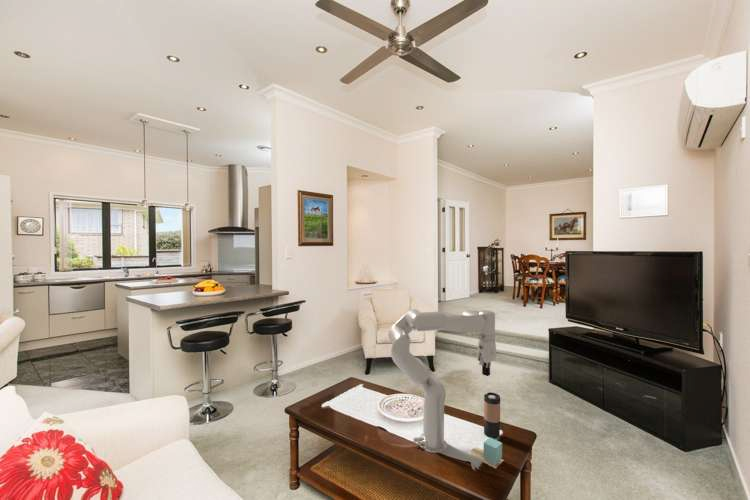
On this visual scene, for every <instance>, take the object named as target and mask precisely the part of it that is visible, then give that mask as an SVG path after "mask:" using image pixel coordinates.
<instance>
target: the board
mask: <svg viewBox="0 0 750 500" xmlns="http://www.w3.org/2000/svg"><path fill="white" fill-rule="evenodd" d="M466 454H467V455H468V456H471V457H473V458H475V459H477V460H479V461H480V462H483V463H484V464H486V465H488V466H490V467H492V468H494V469H497V468H498V467H499V466H500V465H501V464H502V463H503V462H504V459H502V458H501V461H500V462H499V463H498V464H497V465H496V466H495V465H493V464H491V463H489V462H487V461H485V458H484V448H483V449H482V448H480V447H478V446H476V445H475V446H474V447H473V448H471V449H470V450H469V451H468V452H467V453H466Z"/></svg>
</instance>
